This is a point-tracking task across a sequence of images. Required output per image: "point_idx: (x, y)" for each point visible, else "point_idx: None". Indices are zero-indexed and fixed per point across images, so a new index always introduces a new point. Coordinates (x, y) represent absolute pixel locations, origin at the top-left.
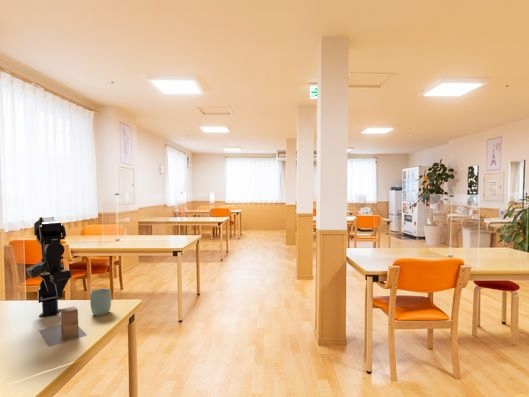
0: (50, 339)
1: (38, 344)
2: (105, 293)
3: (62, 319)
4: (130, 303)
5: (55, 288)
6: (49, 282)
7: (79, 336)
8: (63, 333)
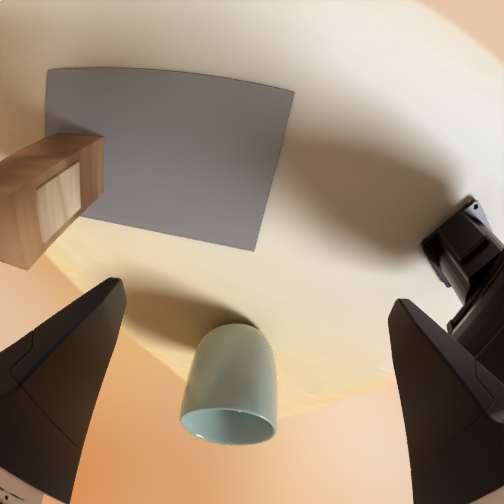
0: (109, 90)
1: (116, 40)
2: (181, 422)
3: (16, 166)
4: None
5: (55, 338)
6: (432, 404)
7: None
8: (53, 141)
